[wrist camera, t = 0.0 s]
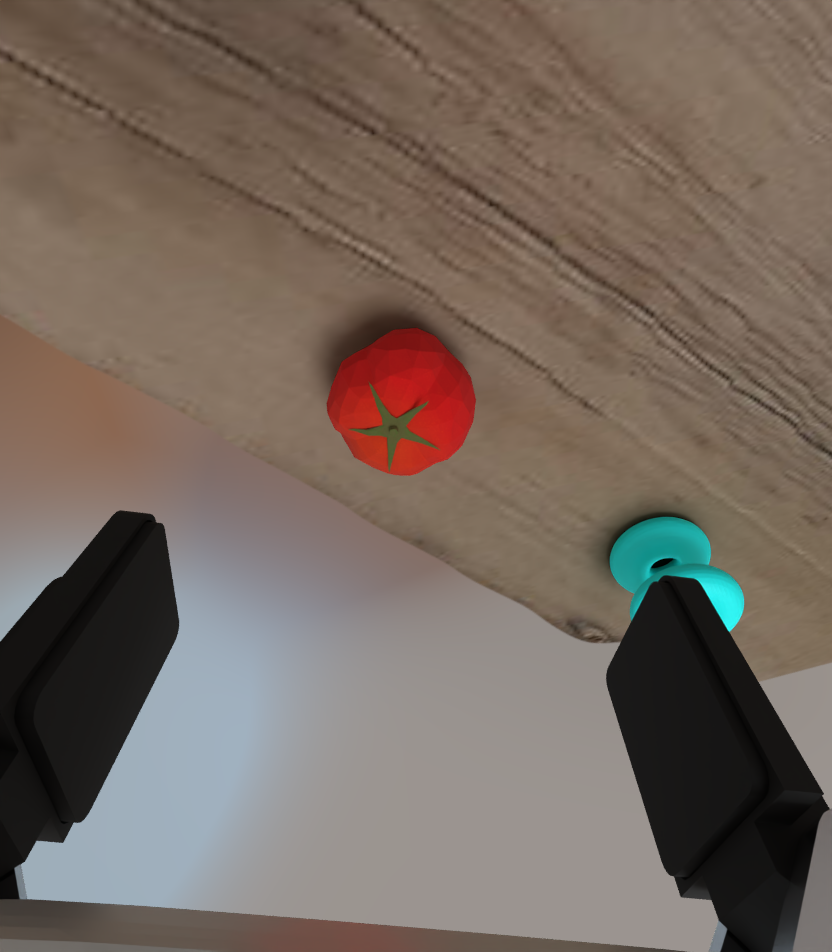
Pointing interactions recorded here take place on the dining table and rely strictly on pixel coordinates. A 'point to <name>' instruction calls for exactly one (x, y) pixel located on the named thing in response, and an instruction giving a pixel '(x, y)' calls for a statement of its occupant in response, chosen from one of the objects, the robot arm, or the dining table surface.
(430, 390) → the tomato
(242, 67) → the dining table surface
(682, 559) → the donuts
